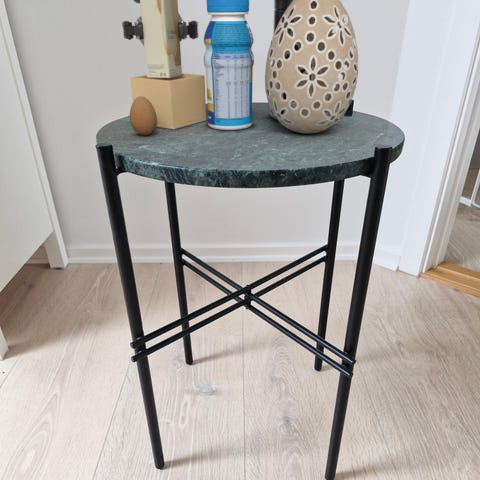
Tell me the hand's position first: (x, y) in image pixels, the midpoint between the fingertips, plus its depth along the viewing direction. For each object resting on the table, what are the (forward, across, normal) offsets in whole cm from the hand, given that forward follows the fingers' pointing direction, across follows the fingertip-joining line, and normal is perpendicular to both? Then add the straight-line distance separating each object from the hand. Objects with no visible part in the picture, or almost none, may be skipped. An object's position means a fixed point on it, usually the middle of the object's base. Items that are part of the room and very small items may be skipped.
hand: (161, 30), depth 74 cm
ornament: (+10, +23, +15) cm, 29 cm away
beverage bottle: (+2, +11, +15) cm, 19 cm away
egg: (+7, -4, +15) cm, 17 cm away
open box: (-3, 0, +14) cm, 15 cm away
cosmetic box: (-3, 0, +7) cm, 8 cm away
